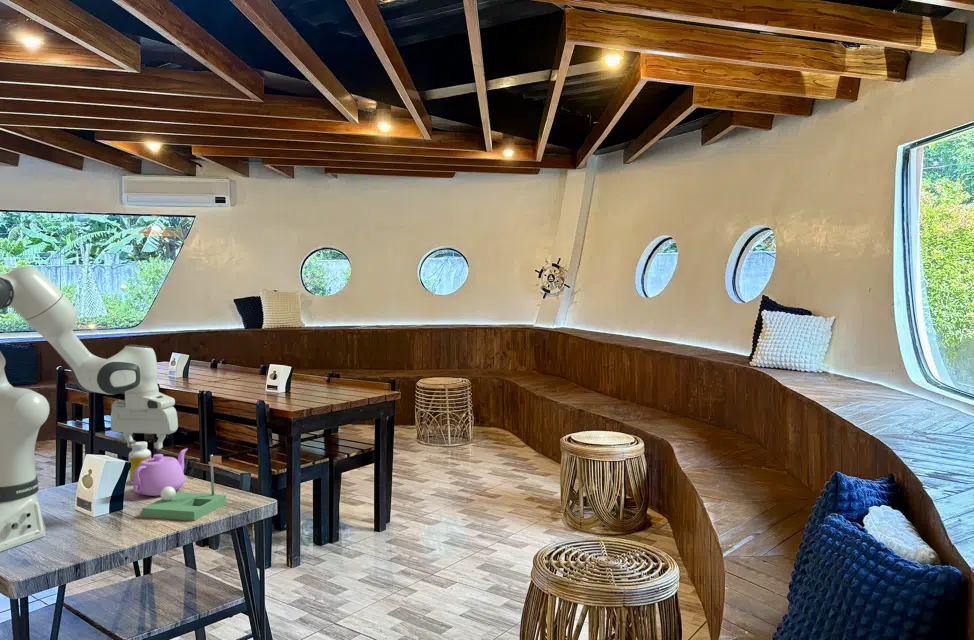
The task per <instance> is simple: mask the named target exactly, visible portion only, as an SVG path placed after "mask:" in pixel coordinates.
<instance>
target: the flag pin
mask: <svg viewBox="0 0 974 640" xmlns="http://www.w3.org/2000/svg"><path fill="white" fill-rule="evenodd" d="M209 460H210V461H209V463H210V482H211V483H210V486H211V494H212V496H213V495H214V494H215V479H214V476H215V475H214V464H217V465H218V464H222V456H221V455H213V454H209Z"/></svg>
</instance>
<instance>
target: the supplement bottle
mask: <svg viewBox="0 0 974 640" xmlns="http://www.w3.org/2000/svg"><path fill="white" fill-rule="evenodd" d="M148 447H149V446H148V442H147V441H136V446H135V447H133V448H131V449H132V450H131V451H130V452H129V453H128V463H129V462H130V463H131V468H130V470H129V469H128V470H129V482H130V484H131V485H133V482H134V471H135V470H136V468H138V466H139V464H140V463H141V462H142V461H144V460H147V459H151V458H152V452H151V450H150V449H148Z"/></svg>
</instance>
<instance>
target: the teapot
mask: <svg viewBox="0 0 974 640" xmlns="http://www.w3.org/2000/svg"><path fill="white" fill-rule="evenodd" d="M188 449H189V448H188V447H187V448H184V449H182V450H180V452H179V453H178V456H177V458H176V457H173V456H164V454H162V453H155V454H153V455H152V457H151V459H147V460H144V461H142V462H141V463H140V464H139V466H138V468H136V470H135V471H134V482H133V484H132V488H133V491H134V492H135V493H136V494H138V495H142V496H149V497H150V496H153V497H161V491H162V489H163V488H165V487H167V486H170V487H173V488H174V489H175V491H176V492H178V490H180V489H181V488H182V487H183V486H184V483H185V482H186V477H185V474H184V473H185V471H184V469H185V454H186V453H187V451H188Z"/></svg>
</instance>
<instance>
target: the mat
mask: <svg viewBox="0 0 974 640" xmlns="http://www.w3.org/2000/svg"><path fill="white" fill-rule="evenodd" d="M224 505H227V495H226V494H215V493H214V495H213V496H212V493H199V492H198V493H197V492H185V491H176V494H175V497H174V498H173V499H172V500H169V501H166V500H163V499H162V498H161V499H159V500H156V501H154V502H153V503H149V504H148V505H146V506H143V507H141V514H142V518H151V519H152V518H153V519H165V520H167V519H168V520H178V521H181V520H182V521H193V522H194V521H197V520H199V519H200V518H202V517H204V516H206V515H208V514H209V513H212V512H214V511H216V510H217V509H219V508H220V507H223V506H224Z"/></svg>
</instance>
